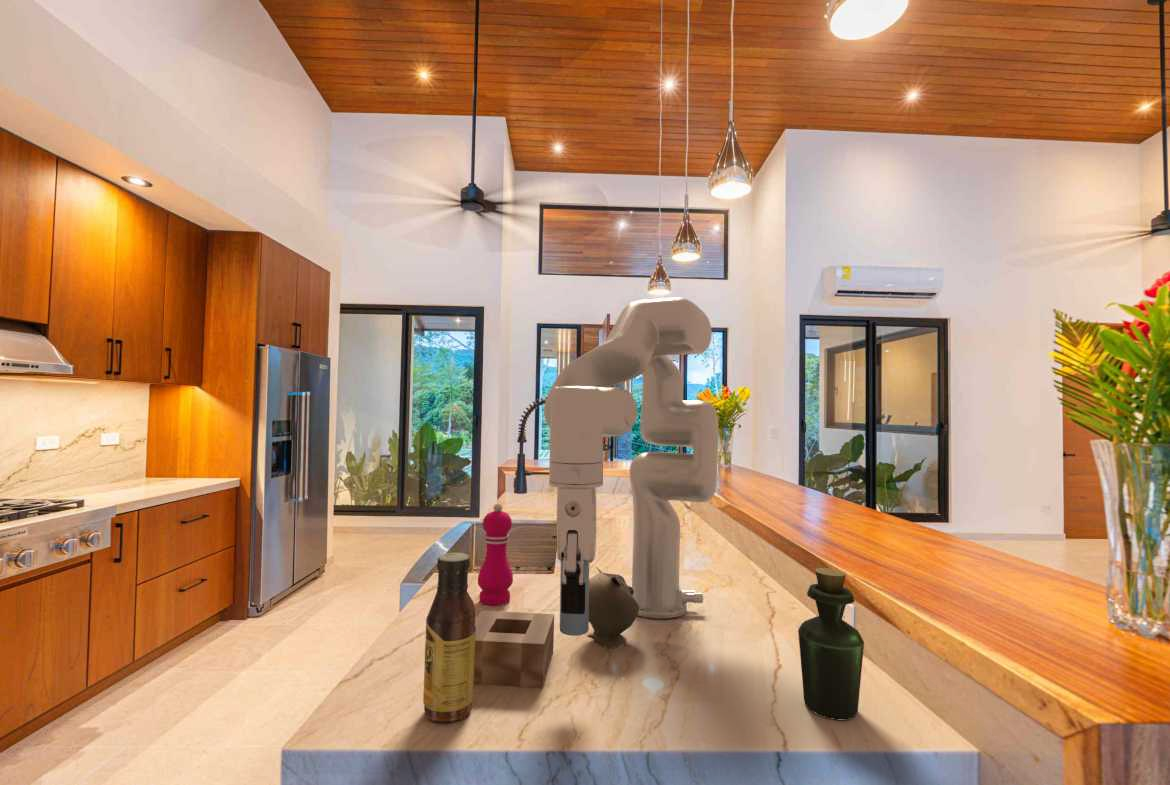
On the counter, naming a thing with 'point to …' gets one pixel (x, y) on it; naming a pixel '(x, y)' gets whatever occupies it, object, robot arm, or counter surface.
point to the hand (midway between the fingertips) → (574, 605)
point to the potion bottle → (831, 650)
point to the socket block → (513, 648)
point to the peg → (576, 622)
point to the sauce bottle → (450, 643)
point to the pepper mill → (496, 559)
